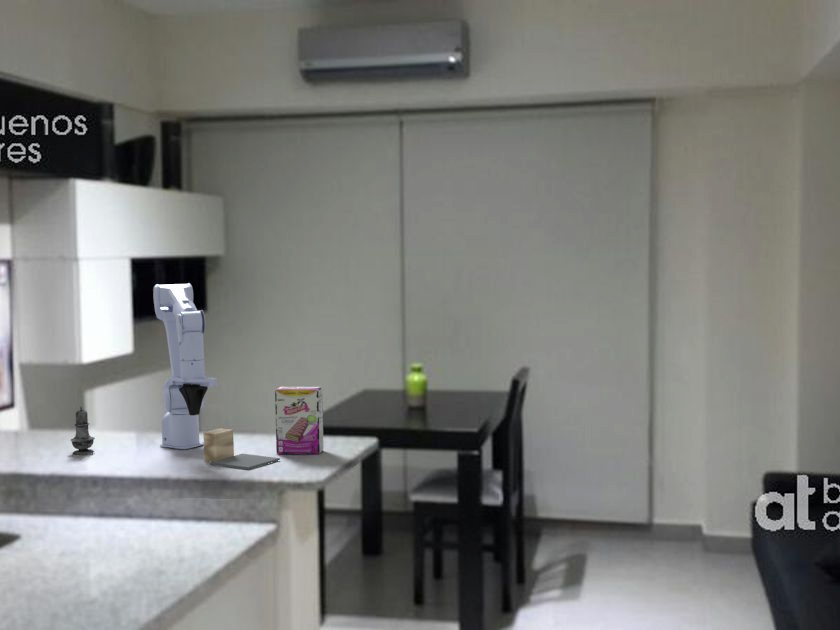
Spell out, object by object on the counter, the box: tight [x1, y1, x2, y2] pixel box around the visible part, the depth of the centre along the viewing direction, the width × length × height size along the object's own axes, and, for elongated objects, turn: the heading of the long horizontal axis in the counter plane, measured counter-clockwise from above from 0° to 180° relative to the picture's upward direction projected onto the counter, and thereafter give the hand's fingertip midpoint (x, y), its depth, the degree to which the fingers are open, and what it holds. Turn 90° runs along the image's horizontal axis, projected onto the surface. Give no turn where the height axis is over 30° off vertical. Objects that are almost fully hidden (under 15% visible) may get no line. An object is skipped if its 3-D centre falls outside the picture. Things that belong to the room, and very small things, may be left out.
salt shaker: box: [70, 406, 95, 456], centre depth 242 cm, size 6×6×12 cm
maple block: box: [203, 428, 235, 463], centre depth 230 cm, size 4×6×7 cm, turn 147°
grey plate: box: [209, 453, 281, 471], centre depth 225 cm, size 12×11×1 cm
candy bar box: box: [274, 386, 324, 455], centre depth 235 cm, size 11×5×16 cm, turn 84°
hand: (194, 414), depth 233 cm, fingers closed
